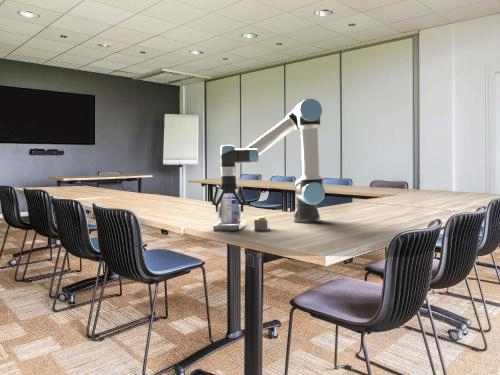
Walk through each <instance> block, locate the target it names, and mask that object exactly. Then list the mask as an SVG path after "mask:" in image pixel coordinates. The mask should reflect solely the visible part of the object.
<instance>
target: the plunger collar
mask: <svg viewBox="0 0 500 375" xmlns="http://www.w3.org/2000/svg"><path fill="white" fill-rule="evenodd" d="M253 223H254V231H269V229H270V218H269V217H268V218H267V217H265V220H258V217H257V218H255V219H254V221H253Z"/></svg>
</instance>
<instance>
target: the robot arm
mask: <svg viewBox="0 0 500 375" xmlns="http://www.w3.org/2000/svg"><path fill="white" fill-rule="evenodd" d="M322 107H323V106H322V105H321V103H320V101H318V100H316V99H314V98H306V99H303V100H301V102H300V103H298V104H297V105H296V106H295V107H294V109H292V110H291V112H289V113H288V114H286V116H285V118H284V119H283V120H282V121H280V122H279V123H277V124H276V125H275V126H274V127H272V128H271V129H270V130H268V131H267V132H265V133H264V134H263V135H261V136H260V137H259V138H257V139H256V140H254V141H253V142H252V143H250V144H249V145H248V146H246V147H245V148H236V146H235V145H232V144H227V145H226V144H225V145H221V146H220V155H219V156H220V175H221V176H220V180H221V181H220V183H221V185H220V186H219V185H215V192H214V194H213V195H214V196H213V199H212V202H211V205H212V206H215V212H216V213H217V219H218V220H219V219H220V202H221V200H222V199H224V196H225V195H226V194H231V195H234V196H233V197H235V199H238V200H239V220H241V219H242V218H243V215H242V214H243V212H244V205H246V204H248V201H247V200H246V196H245V193H244V190H243V185H238V184H237V176H236V174H237V172H236V170H237V169H236V164H237V165H238V164H244V165H248V164H257V163H258V162H259V159H260V158H259V156H260V155H261V154H263V153H264V152H266V151H267V150H269V149H270V148H271V147H272V146H274V145H275V144H277V143H278V142H279V141H281V140H282V139H283V138H285V137H286V136H287V135H289V134H290V133H291V132H292V131H295V130H296V131H297V130H300V134H301V135H300V139H301V140H300V142H301V170H302V172H301V173H302V175H301V177H300V179H297V180H296V181H295V182H294V183H295V184H294V188H295V190H294V191H295V192H294V193H295V209H294V211H293V216H292V222H295V223H302V224H303V223H304V224H305V223H306V224H307V223H309V224H310V223H317V222H318V223H319V222H320V221H321V215H320V212H319V210H318V204H320V203H321V202H322V201H324V199H325V196H326V195H325V194H326V191H325V188H324V186H323V177H322V176H321V175H320V166H319V165H320V160H319V159H320V158H319V137H318V136H319V134H318V133H319V130H318V129H319V127H320V126H321V117H322V114H323V108H322ZM237 189H238V191H239V194H240V196H239V195H238V193H237V191H236V190H237ZM220 190H222V192H221V194H220V195H219V193H220V192H219V191H220ZM218 195H219V198H218Z"/></svg>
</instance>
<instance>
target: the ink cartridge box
mask: <svg viewBox="0 0 500 375" xmlns="http://www.w3.org/2000/svg"><path fill="white" fill-rule="evenodd" d="M228 194H229V195H228V196H227V198H222V200H221V202H220V204H219V206H220V220H219V222H223V223H231V224H234V223H239V221H240V219H239V206H240V204H239V200H238V199H236V198H234V197H235V196H234V195H233V194H230V193H228Z"/></svg>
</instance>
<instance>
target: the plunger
mask: <svg viewBox="0 0 500 375" xmlns="http://www.w3.org/2000/svg"><path fill="white" fill-rule="evenodd" d="M257 218H258V220H265V218H266V216H257Z"/></svg>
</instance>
